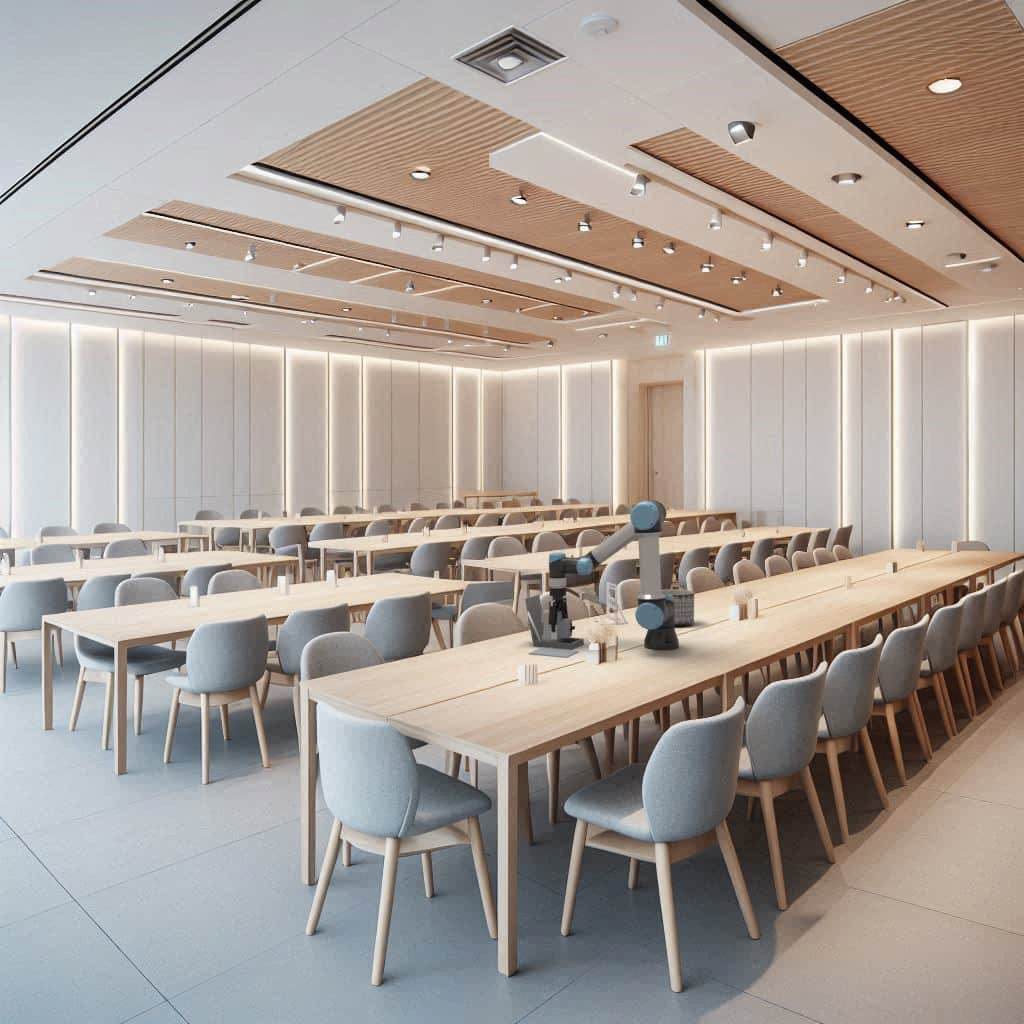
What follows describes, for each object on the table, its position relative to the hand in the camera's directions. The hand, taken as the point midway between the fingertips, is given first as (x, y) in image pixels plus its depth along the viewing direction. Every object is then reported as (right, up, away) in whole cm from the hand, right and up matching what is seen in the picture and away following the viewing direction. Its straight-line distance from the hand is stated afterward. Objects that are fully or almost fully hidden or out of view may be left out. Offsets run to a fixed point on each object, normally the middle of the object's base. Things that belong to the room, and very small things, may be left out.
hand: (558, 637), depth 383 cm
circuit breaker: (0, -4, 0) cm, 4 cm away
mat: (-3, -4, -16) cm, 17 cm away
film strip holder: (+30, -1, +55) cm, 62 cm away
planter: (+61, -1, +45) cm, 76 cm away
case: (-2, -4, +1) cm, 4 cm away
